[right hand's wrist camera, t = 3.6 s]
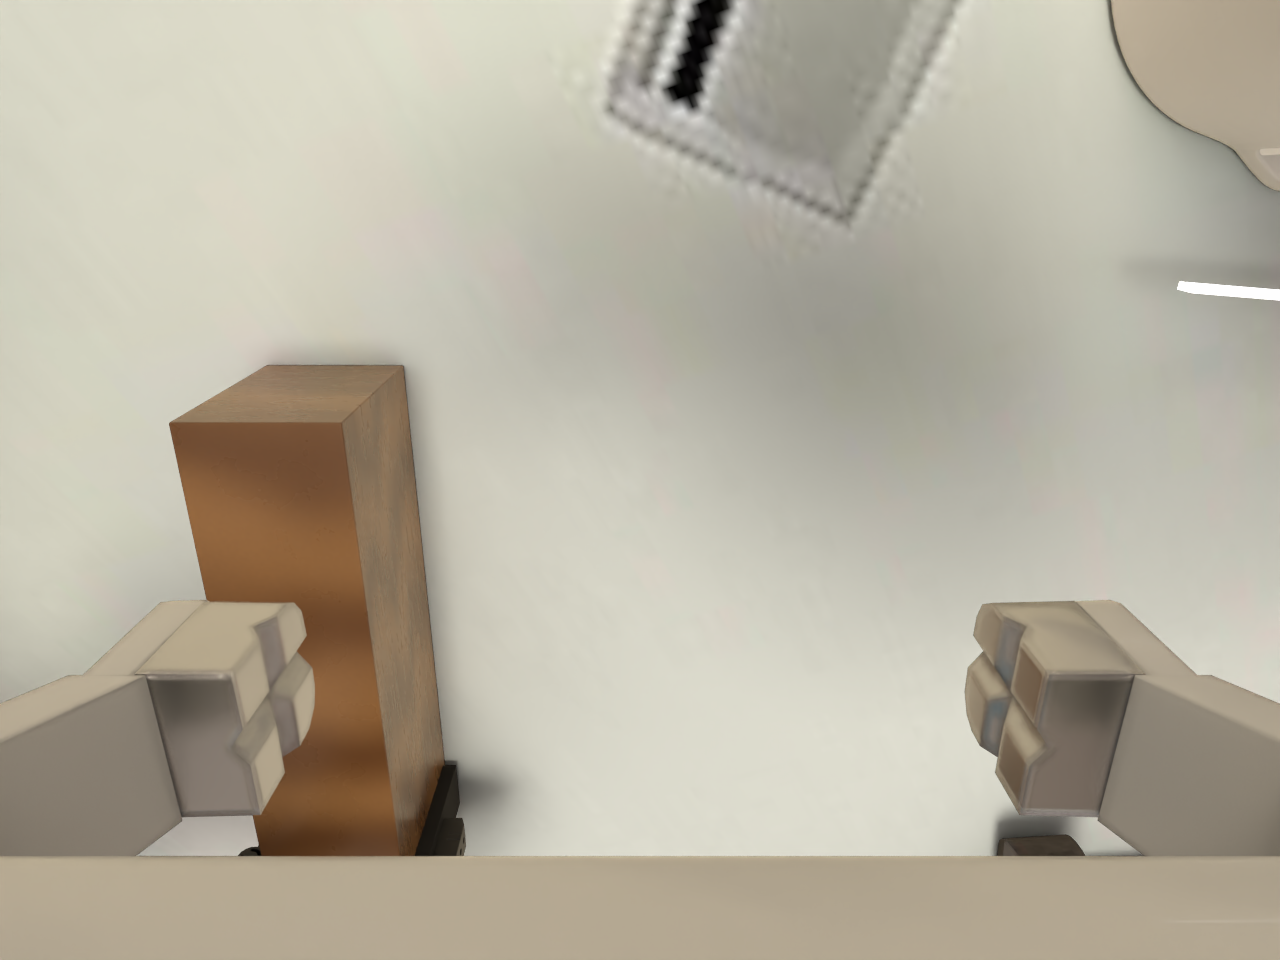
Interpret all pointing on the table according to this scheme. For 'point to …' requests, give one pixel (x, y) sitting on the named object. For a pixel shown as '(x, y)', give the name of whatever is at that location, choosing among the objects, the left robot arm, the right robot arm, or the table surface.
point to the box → (327, 589)
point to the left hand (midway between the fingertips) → (388, 784)
